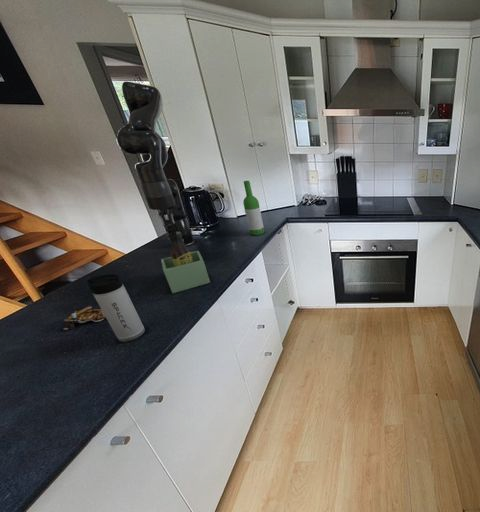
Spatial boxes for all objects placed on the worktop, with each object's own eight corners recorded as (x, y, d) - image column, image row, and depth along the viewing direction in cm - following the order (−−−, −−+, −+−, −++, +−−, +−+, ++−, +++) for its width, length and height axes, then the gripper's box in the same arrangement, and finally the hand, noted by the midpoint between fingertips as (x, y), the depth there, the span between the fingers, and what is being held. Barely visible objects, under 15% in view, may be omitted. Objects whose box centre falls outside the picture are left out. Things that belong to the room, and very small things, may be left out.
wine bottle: (258, 236, 154) (246, 183, 140) (247, 235, 156) (235, 181, 143) (267, 232, 160) (257, 180, 147) (256, 230, 162) (246, 179, 149)
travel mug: (127, 328, 85) (98, 272, 76) (150, 327, 85) (124, 272, 77) (111, 342, 79) (78, 284, 71) (135, 341, 80) (105, 283, 71)
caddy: (169, 280, 110) (160, 259, 106) (205, 271, 118) (198, 250, 113) (172, 293, 102) (163, 270, 98) (210, 282, 110) (203, 260, 105)
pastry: (115, 317, 90) (110, 308, 88) (63, 331, 83) (57, 322, 82) (118, 306, 95) (113, 298, 93) (69, 319, 88) (63, 310, 87)
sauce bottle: (189, 284, 106) (172, 237, 98) (175, 282, 107) (158, 235, 99) (202, 276, 112) (187, 231, 103) (189, 274, 113) (173, 229, 104)
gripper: (144, 191, 97) (160, 233, 104) (145, 199, 87) (162, 245, 94) (169, 188, 101) (183, 229, 108) (173, 196, 91) (188, 240, 99)
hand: (173, 237), depth 101 cm, fingers open, 8 cm apart
